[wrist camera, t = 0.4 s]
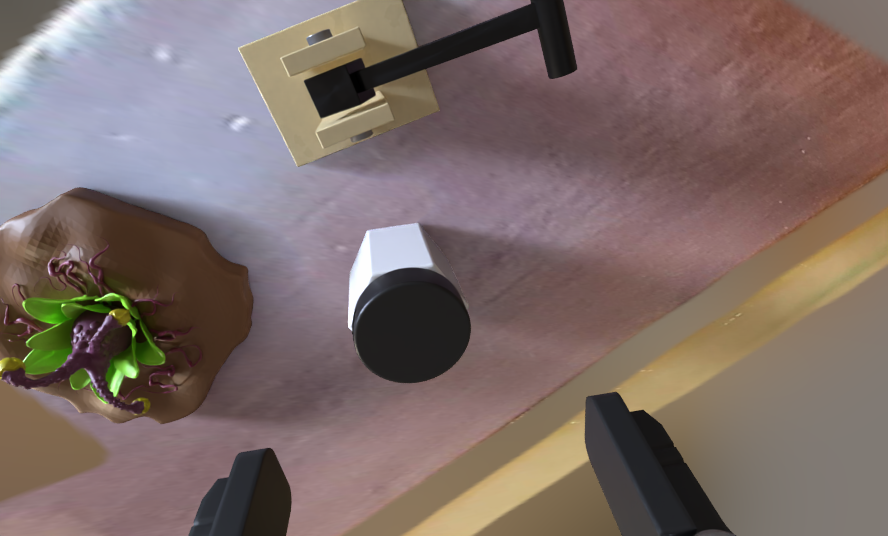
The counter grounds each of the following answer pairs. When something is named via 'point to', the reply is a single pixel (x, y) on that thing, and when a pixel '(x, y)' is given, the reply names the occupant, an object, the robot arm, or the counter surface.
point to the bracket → (328, 46)
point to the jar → (406, 306)
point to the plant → (116, 307)
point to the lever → (447, 56)
